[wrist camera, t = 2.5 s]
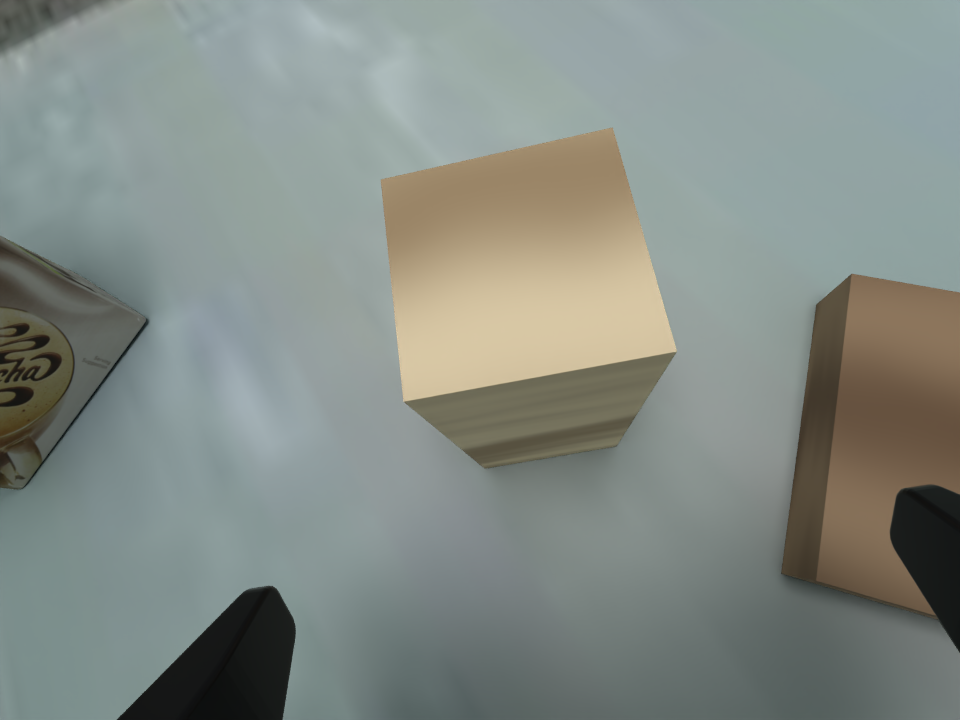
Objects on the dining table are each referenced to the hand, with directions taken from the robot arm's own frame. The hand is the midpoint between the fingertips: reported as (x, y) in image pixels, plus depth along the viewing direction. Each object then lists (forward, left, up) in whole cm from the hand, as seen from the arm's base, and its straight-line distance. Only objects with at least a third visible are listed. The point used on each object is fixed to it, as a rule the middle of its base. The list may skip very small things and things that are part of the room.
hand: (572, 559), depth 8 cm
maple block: (+3, +5, -12) cm, 13 cm away
